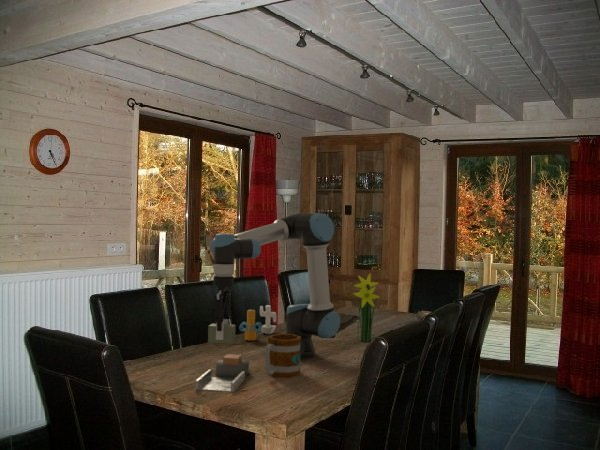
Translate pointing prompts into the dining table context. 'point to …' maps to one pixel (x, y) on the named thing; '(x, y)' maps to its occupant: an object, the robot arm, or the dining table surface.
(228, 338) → the olive green block
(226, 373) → the grey block tan top
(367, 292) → the daffodil flowers
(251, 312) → the orange knobbed block
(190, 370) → the dining table surface
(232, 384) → the bracket
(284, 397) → the dining table surface
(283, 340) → the mug
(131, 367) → the dining table surface
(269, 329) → the figurine
